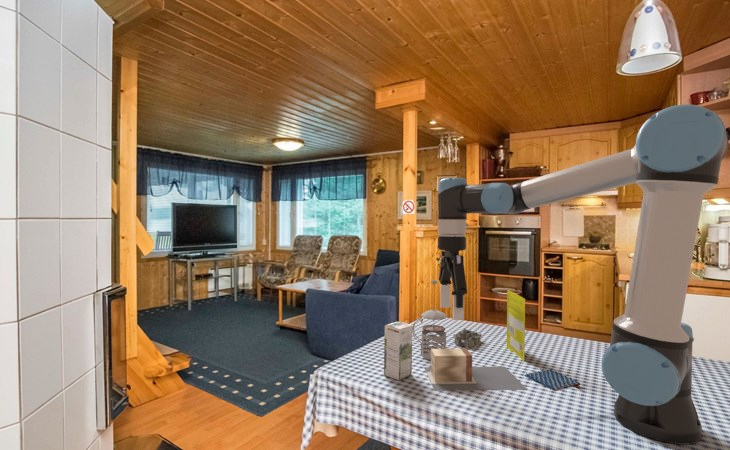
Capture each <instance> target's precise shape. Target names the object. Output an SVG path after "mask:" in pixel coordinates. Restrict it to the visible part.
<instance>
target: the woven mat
mask: <svg viewBox="0 0 730 450" xmlns="http://www.w3.org/2000/svg"><path fill="white" fill-rule="evenodd" d="M524 376H525V377H527V378H528V379H532V380H534V381H535V382H538V383H539V384H541V385H543V386H544V387H547V388H549V389H551V390H555V392H556V391H558V389H560V390H562V389H563V388H566V387H567V388H569V387H571V386H573V387H575V386H576V387H575V388H578V387H579V388H581V382H580V381H578V380H577V379H573V378H572V377H568V376H567V375H563V373H562V372H558V371H556V370H553V369H552V368H549V369H545V370H544V369H543V370H540V371H533V372H529V373H525V375H524ZM579 388H578V389H579Z"/></svg>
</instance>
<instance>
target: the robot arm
mask: <svg viewBox="0 0 730 450" xmlns="http://www.w3.org/2000/svg"><path fill="white" fill-rule="evenodd" d="M726 131H727V130H726V125H725V123H724V121H723V119H722V118H721V116H719V115H718V114H717V113H715V112H714V111H713V110H710V109H708V108H706V107H703V106H700V105H696V104H677V105H671V106H669V107H666V108H664V109H661V110H660V111H658V112H656V113H654V114H653V115H651V116H650V117H649V118H648V119H647V120H645V122H644V123H643V124H642V125H641V127H640V129H639V130H638V132H637V135H636V139H635V145H634V146H633V147H632V148H630V149H626V150H623V151H620V152H617V153H614V154H610V155H606V156H604V157H601V158H597V159H594V160H590V161H587V162H586V161H585V162H584V163H581V164H576V165H574V166H570V167H566V168H565V169H560V170H557V171H553V172H551V173H548V174H544V175H541V176H538V177H533V178H530V179H528V180H524V181H521V182H517V183H515V184H511V185H510V184H508V183H507V182H491V183H479V184H468V181H467V179H466V178H464V177H446V178H442V179H440V180H439V182H438V192H437V207H438V209H437V210H438V212H437V213H438V217H437V234H438V237H437V249H438V250H440V251H441V254H440V255H441V258H440V265H439V274H438V282H439V284H440V298H439V299H440V309H441V308H445V309H446V308H451V296H452V321H464V320H465V295H467V293H468V287H467V280H466V279H467V278H466V273H465V272H466V271H465V266H464V265H465V264H464V255H460V251H466V250H467V237H466V236H464V235H466V234H467V228H468V226H469V223H467V214H492V215H499V214H501V215H502V214H503V215H504V214H505V215H517V214H521V213H523V212H525V211H528V210H530V209H534V208H538V207H543V206H546V205H551V204H555V203H559V202H563V201H568V200H572V199H576V198H580V197H583V196H584V197H585V196H587V195H592V194H595V193H600V192H605V191H608V190H612V189H616V188H621V187H624V186H628V185H632V184H636V185H637V186H638V187H640V189H641V190H642V192H643V193H642V201H641V206H640V207H641V208H640V212H639V213H640V214H639V220H638V226H637V232H636V238H635V244H634V251H633V257H632V262H631V263H632V264H631V271H630V277H629V283H628V288H627V295H626V302H625V308H624V313H623V314H622V315H619V316H618V317H616V318H614V320H613V325H612V329H611V337H610V341H609V346H608V348H606V349H605V351H604V353H603V355H602V359H601V371H602V375H603V377H604V379H605V381H606V382H607V383H608V384H609V386H610V387H611V388H612V389H613V391H615V393H617V394H618V395H617V398H616V400H615V401H614V406H613V413H614V414H613V416H614V418H615V419H616V420H617V421H618V422H619V424H621V425H623V426H624V427H625V428H626V429H629V430H630V431H633V432H634V433H637V434H639V435H641V436H643V437H647V438H650V439H653V440H657V441H660V442H665V443H670V444H676V445H691V444H696V443H698V442H700V441H701V440H702V438H703V437H702V436H703V428H702V427H703V426H702V423H701V420H700V419H699V415H698V412H697V409H696V406H695V403H694V401H693V398H692V383H693V382H692V378H693V372H692V371H693V342H694V341H695V338H694V337H693V336H694V335H693V328H692V327H691V325H689V324H687V323H684V322H682V321H683V320H682V319H683V314H684V313H683V312H684V307H685V301H686V297H687V291H688V285H689V281H690V280H689V279H690V274H691V270H692V262H693V257H694V252H695V251H694V250H695V247H696V246H695V244H696V240H697V239H696V238H697V235H698V228H699V223H700V218H701V217H700V216H701V211H702V206H703V200H704V196H705V195H706V194H707V193H708V192H711V191H712V190H713V189H715V188H716V187H718V181H719V175H720V170H721V166H722V161H723V160H724V158H725V156H726V154H727V152H728V150H729V143H730V142H729V137H728V134H727V132H726ZM451 285H452V289H453V291H451Z"/></svg>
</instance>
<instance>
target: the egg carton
mask: <svg viewBox="0 0 730 450" xmlns="http://www.w3.org/2000/svg"><path fill="white" fill-rule="evenodd" d="M482 335H483V334H482V333H480V334H479V333H478V332H477V331H474V330H471V329H469V330H468V329H466V328H463V329H462V331H458V332H457V333H456V334H453V339H454V345H456V347H457V346H458V347H460V346H462V347H463V346H464V347H465V349H467V348H468V349H469V348H474V346H477V345H478V343H481V337H482Z"/></svg>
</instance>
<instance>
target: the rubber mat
mask: <svg viewBox="0 0 730 450" xmlns="http://www.w3.org/2000/svg"><path fill="white" fill-rule="evenodd" d="M423 368H424V371H425V373H426V374H427V377H428V379H429V382H430V384H431V386H432V388H433V390H434V391H436V392H437V391H440V392H442V391H447V392H448V391H450V392H451V391H513V390H514V391H521V390H522V391H526V390H527V391H528V387H526V386H525V385H524V384H523V383H522V382H521V381H520V380H519V379H518V378H517V377H516V376H515V375H514V374H513V373H512V372H511V371H510V370H509V369H508V368H507V367H506V366H472V382H435V381H434V379H433V377H432V375H431V366H425V367H423Z"/></svg>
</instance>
